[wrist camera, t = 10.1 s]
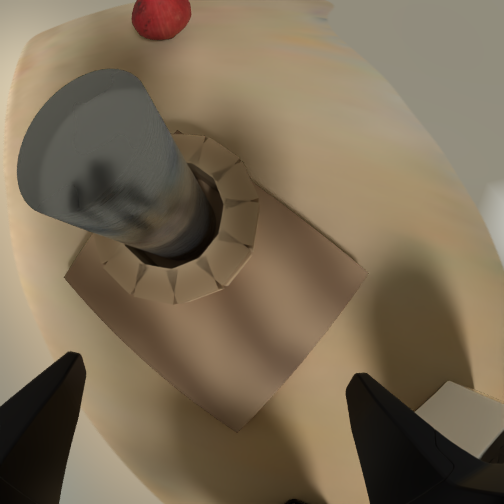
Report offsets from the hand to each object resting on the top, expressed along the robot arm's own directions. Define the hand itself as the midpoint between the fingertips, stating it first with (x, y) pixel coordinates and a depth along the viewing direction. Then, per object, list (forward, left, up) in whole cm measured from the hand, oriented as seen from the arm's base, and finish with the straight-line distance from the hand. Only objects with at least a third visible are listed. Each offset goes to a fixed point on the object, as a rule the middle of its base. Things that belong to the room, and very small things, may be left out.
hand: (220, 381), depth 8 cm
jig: (+1, +4, -12) cm, 13 cm away
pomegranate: (+17, +24, -12) cm, 32 cm away
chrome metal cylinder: (+3, +8, -11) cm, 13 cm away
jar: (+3, -20, -12) cm, 24 cm away
